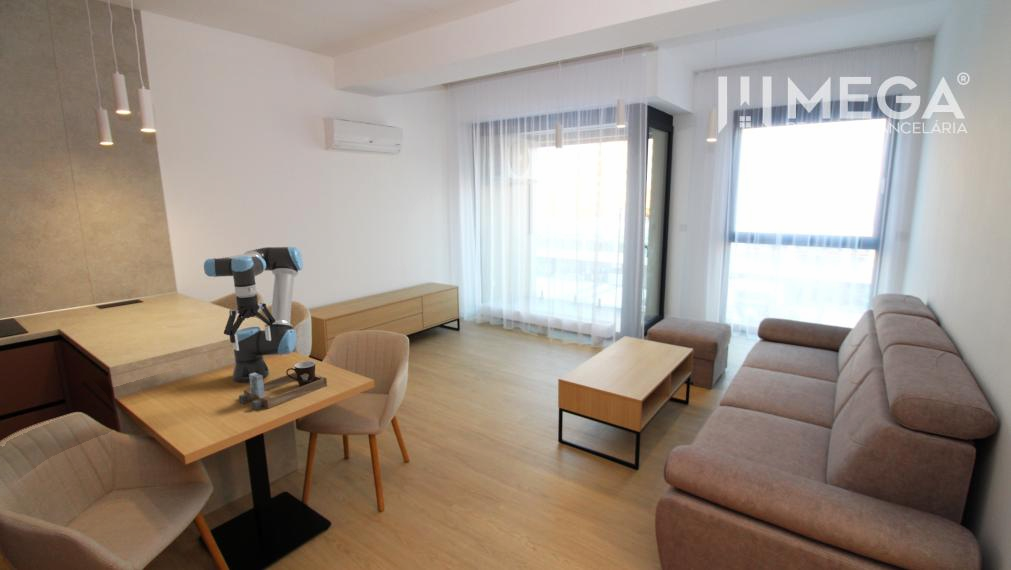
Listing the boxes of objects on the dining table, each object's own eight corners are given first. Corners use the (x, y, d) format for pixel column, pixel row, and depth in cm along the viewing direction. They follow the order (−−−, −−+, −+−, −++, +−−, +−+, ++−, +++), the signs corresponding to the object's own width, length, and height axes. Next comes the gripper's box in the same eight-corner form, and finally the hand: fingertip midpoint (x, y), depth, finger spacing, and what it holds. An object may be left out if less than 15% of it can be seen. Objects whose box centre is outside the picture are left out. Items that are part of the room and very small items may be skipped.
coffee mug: (320, 381, 219) (319, 361, 217) (310, 389, 211) (308, 368, 209) (297, 380, 221) (295, 360, 219) (286, 387, 213) (284, 366, 211)
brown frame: (244, 397, 203) (241, 371, 200) (302, 376, 225) (300, 352, 223) (268, 408, 193) (265, 380, 190) (326, 385, 215) (324, 360, 213)
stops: (239, 402, 199) (239, 395, 198) (244, 400, 200) (243, 393, 200) (256, 410, 192) (255, 403, 191) (261, 408, 193) (260, 401, 193)
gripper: (219, 303, 180) (226, 356, 185) (280, 290, 200) (286, 337, 205) (209, 300, 184) (216, 352, 189) (270, 287, 204) (276, 334, 209)
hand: (253, 344), depth 197 cm, fingers open, 13 cm apart
